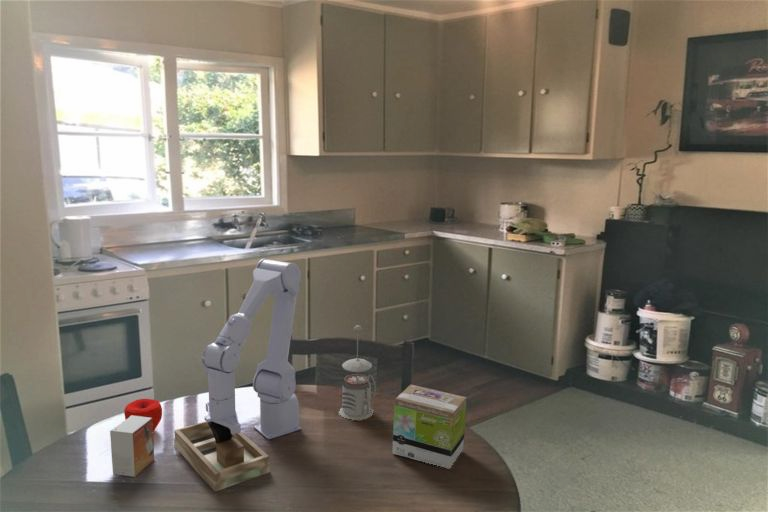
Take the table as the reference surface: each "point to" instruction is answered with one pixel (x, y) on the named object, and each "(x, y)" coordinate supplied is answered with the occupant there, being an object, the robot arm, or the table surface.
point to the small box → (132, 445)
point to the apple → (145, 410)
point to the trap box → (203, 457)
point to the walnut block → (230, 453)
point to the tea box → (429, 425)
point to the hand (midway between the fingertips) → (223, 450)
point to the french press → (360, 405)
